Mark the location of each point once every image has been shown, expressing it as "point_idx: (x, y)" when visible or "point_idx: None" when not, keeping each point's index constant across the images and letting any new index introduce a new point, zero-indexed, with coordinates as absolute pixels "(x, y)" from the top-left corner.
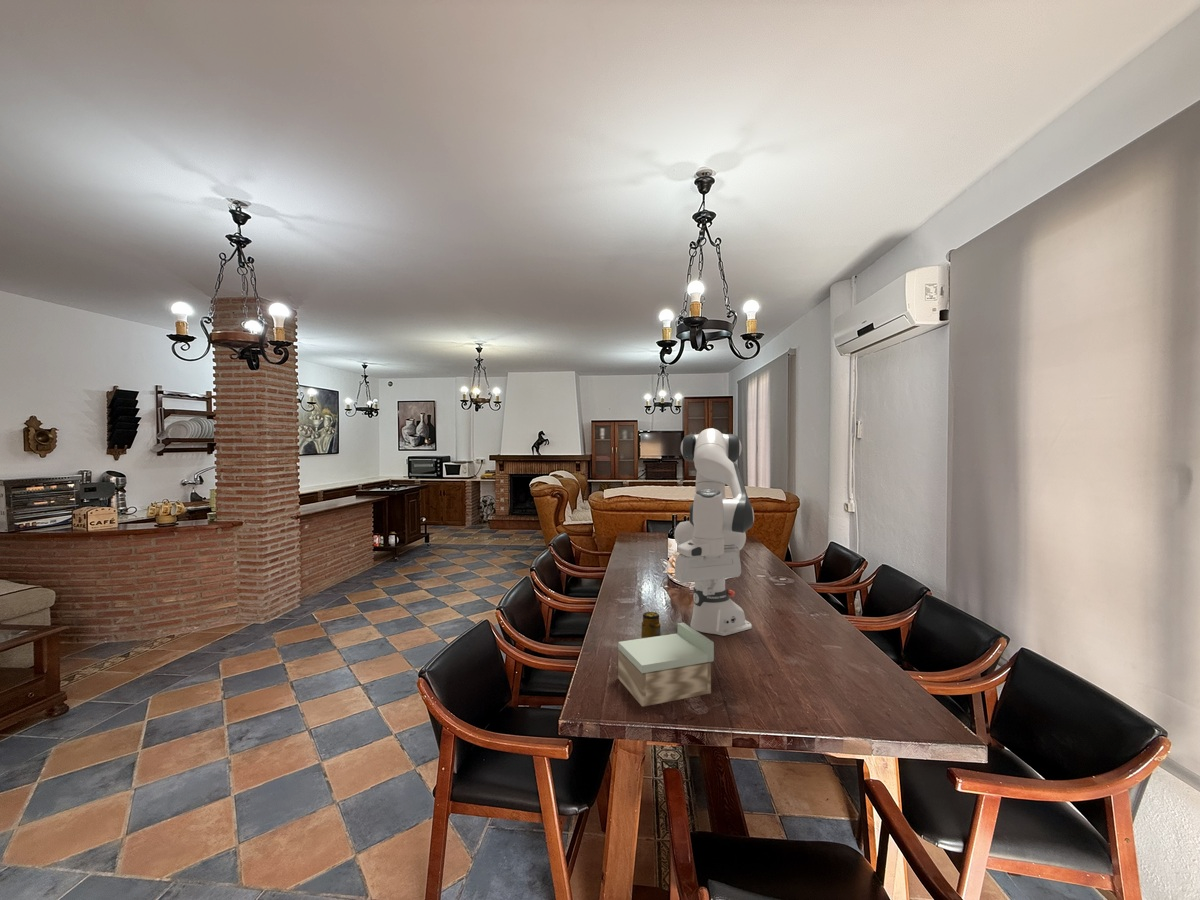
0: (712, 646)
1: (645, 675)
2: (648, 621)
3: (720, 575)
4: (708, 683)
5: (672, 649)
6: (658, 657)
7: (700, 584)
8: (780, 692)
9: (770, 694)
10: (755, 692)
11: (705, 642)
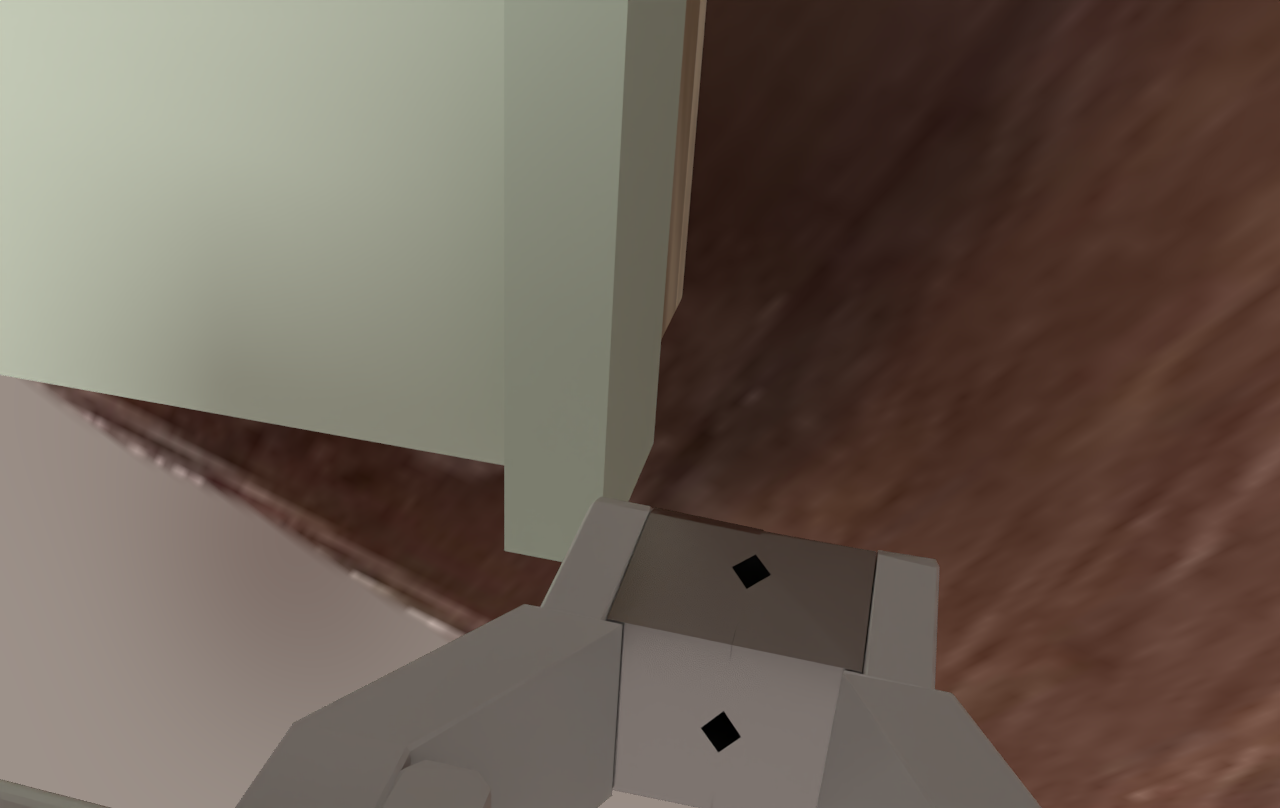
0: None
1: None
2: None
3: None
4: None
5: (228, 173)
6: (12, 276)
7: (373, 710)
8: (1249, 563)
9: (1136, 542)
10: (1050, 463)
11: (507, 510)
